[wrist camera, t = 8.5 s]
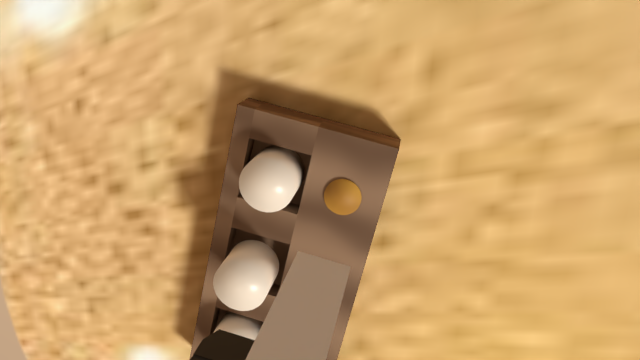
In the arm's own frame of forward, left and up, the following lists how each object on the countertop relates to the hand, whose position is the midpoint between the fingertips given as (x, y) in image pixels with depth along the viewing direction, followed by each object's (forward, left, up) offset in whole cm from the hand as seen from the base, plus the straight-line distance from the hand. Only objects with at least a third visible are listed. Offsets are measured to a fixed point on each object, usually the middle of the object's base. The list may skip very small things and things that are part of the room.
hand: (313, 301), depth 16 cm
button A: (+8, -7, -31) cm, 33 cm away
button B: (+16, -7, -29) cm, 34 cm away
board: (+16, -5, -32) cm, 36 cm away
